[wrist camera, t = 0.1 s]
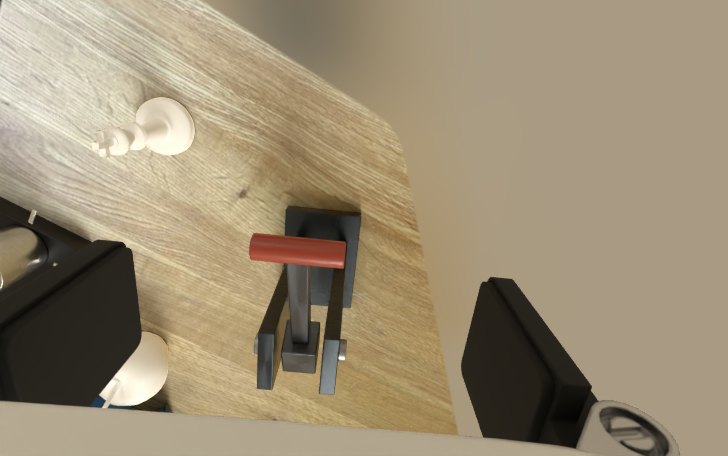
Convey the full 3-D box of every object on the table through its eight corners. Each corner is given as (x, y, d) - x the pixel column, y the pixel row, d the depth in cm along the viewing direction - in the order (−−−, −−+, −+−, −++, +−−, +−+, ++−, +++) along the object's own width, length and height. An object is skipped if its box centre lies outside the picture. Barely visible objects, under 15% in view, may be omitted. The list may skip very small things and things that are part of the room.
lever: (256, 219, 19) (244, 257, 18) (347, 228, 20) (344, 266, 18) (272, 337, 28) (265, 370, 26) (335, 342, 28) (332, 375, 27)
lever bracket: (288, 205, 37) (240, 291, 23) (361, 212, 38) (361, 302, 23) (284, 296, 41) (241, 420, 26) (350, 302, 41) (345, 428, 27)
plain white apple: (109, 358, 44) (58, 417, 36) (125, 309, 41) (74, 361, 34) (170, 380, 45) (133, 441, 38) (189, 334, 43) (153, 389, 35)
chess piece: (193, 100, 34) (130, 110, 25) (196, 157, 36) (138, 186, 26) (135, 94, 34) (48, 102, 24) (141, 151, 35) (62, 179, 26)
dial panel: (2, 178, 36) (-19, 184, 34) (98, 226, 38) (83, 235, 36) (-41, 317, 42) (-61, 330, 40) (45, 354, 44) (30, 368, 42)
